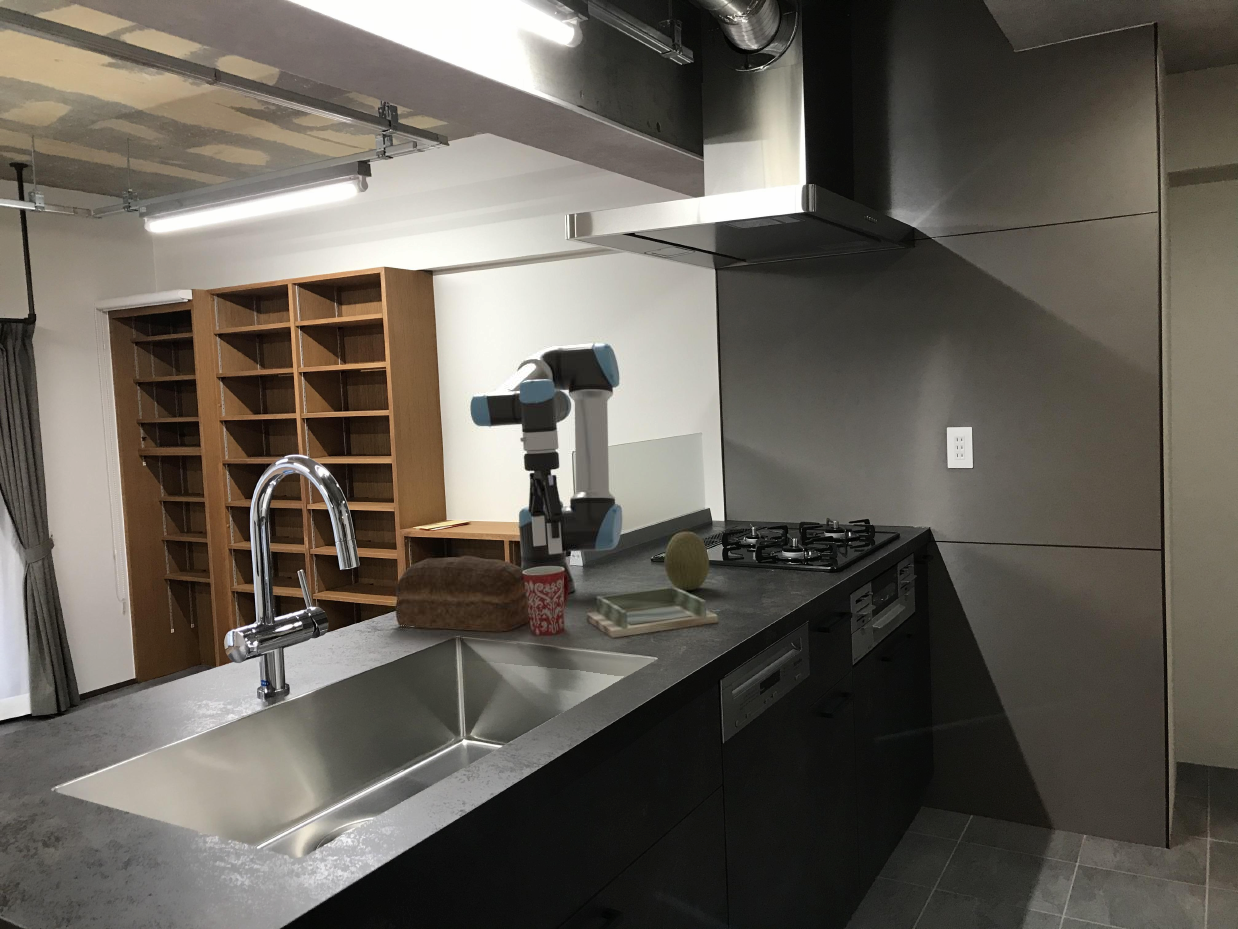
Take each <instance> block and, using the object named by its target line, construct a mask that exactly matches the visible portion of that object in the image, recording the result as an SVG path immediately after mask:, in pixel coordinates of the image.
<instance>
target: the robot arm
mask: <svg viewBox="0 0 1238 929" xmlns="http://www.w3.org/2000/svg"><path fill="white" fill-rule="evenodd" d="M619 386H620V370H619V365H618V360H617V356H616V354H615V351H614V348H613V347H612V346H611V345H610V344H608V343H604V342H603V343H594V342H591V343H585V344H573V345H560V346H558V345H557V346H552V347H549V348H545V349H543V350H540V351H538V352H536V353H534V354H533V355H531V356H529V357H527V358H526V359H525V360H524V361H522V362H521V363H520V364H519V366H518V368H517V370H516V372H515V373H514V374H512V375H511V376H510V377H508V379H507V380H505V381H504V382H503V383H501V385H499V386H498V387H496V388H495V389H494V390H493V391H491V392H483V393H477V394H475V395H473V396H472V397H471V401H470V406H469V409H470V410H469V411H470V417H471V420H472V421H473V424H474V425H476V426H477V427H488V428H489V427H490V428H491V427H497V426H498V427H499V426H516V425H521V432H522V437H520V438H519V440H520V442H521V443H522V444H523V445H522V446H523V451H524V452H526V453H524V455H523V463H524V464H523V465H524V466H523V467H524V470H525V471H527V472H530V473H529V493H528V495H529V498H528V506H526V507H524V508H522V509H521V510H520V511H519V513H518V526H517V527H518V528H519V543H520V545H519V546H520V555H521V566H520V568H522V569H523V570H524V571H525V570H527V569H530V568H535V567H543V566H557V567H563V568H564V569H565V570H564V573H566V574H567V576H568V579H569V590H568V594H569V593H572V592H574V591H575V590H576V588H575V587H576V586H575V579H574V577H573V575H572V572H571V569H570V567H569V564H568V562H567V552H589V551H590V552H591V551H593V552H601V551H609V550H613V549H615V548H616V547H617V546H618V543H619V540H620V538H621V534H622V528H623V510H622V507H621V505H620V504H618V503H616V497H615V496H614V495H613V494H612V493H611V492H610V484H609V483H610V479H609V478H610V474H609V472H610V471H609V466H610V465H609V422H608V421H609V420H608V416H609V415H608V401H609V400H610V399H611V398H612V396H613V394H614V388H617V387H619ZM564 391H568V394H567V393H566V392H564ZM570 398H571V399H572V400H573V401H574V440H575V441H574V442H575V443H574V444H575V446H574V448H575V449H574V450H575V452H574V453H575V456H574V457H575V493H574V494H573V495H572V496H571V497H570V500H569V502H570V504H569V506H564V503H563V501H561V499H560V494H559V489H558V482H557V481H558V480H557V474H552V470H558V469H559V468H560V455H559V454H560V453H558V451H557V450H559V435H558V425H557V424H558V423H560V422H562V421H564V420H566V418H567V417H568V416H569V415H570V413H571V412H572V411H571V410H572V401H571V399H570Z"/></svg>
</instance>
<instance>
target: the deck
mask: <svg viewBox="0 0 1238 929" xmlns="http://www.w3.org/2000/svg"><path fill="white" fill-rule="evenodd" d="M595 598H596V601H595V602H596V612H588V613H586V621H588V622H589V623H590V624H592V625H594V626H595V627H596V628H598V629H599V630H600V631H602V632H603V633H605V634H607V635H608V636H609V637H611V638H619V637H625V636H626V637H627V636H631V635H632V636H633V635H639V634H647V633H653V632H661V631H666V630H673V629H681V628H687V627H693V626H694V627H695V626H701V625H706V624H707V625H709V624H715V623H718V622H719V620H718V614H715V613H713V612H711V611H709V610H707V601H706V599H705V600H704V599H702V598H700V597H698V596H696V595H693V594H691V593H689V592H687V591H685V590H681V589H678V588H676V587H675V586H669V587H662V588H661V587H660V588H655V589H647V590H646V589H645V590H640V591H632V592H630V591H629V592H623V593H615V594H608V595H601V596H596V597H595Z"/></svg>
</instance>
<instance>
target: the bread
mask: <svg viewBox="0 0 1238 929" xmlns="http://www.w3.org/2000/svg"><path fill="white" fill-rule="evenodd" d="M523 571H524V570H523V569H522V568H521V566H519V565H516V564H513V563H511V562H509V561H505V560H501V559H493V558H492V559H488V558H484V557H482V558H481V557H478V556H475V555H474V556H473V555H463V556H459V557H458V556H457V557H456V556H455V557H438V558H435V557H433V558H432V557H428V558H426V559H424V560H421V561H418V562H416V563H414V564H412V565H410V566H409V567H408V568H407V569H406V570H405V571H404V572H403V574H402V575H401V577H400V578H399V580H398V581H397V584H396V588H395V595H396V604H395V615H396V616H395V617H396V622H397V624H398V626H399V625H400V626H401V625H402V626H403V625H404V626H414V627H413V628H417V627H428V628H427V629H447V628H449V630H450V629H452V630H461V631H479V632H480V631H481V632H484V631H485V632H499V633H501V632H507V631H510V630H514V629H515V628H518V627H520V626H522V625H524V624H526V623H528V622H530V619H529V612H528V604H527V596H526V589H525V582H524V575H523ZM400 626H399V627H400Z"/></svg>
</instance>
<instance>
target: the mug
mask: <svg viewBox="0 0 1238 929" xmlns="http://www.w3.org/2000/svg"><path fill="white" fill-rule="evenodd" d="M564 570H565V569H564V568H563V567H557V566H543V567H535V568H530V569H527V570H525V571H523V575H524V582H525V589H526V596H527V604H528V612H529V619H530V620H529V625H530V632H531V634H533V635H536V636H550V635H551V636H552V635H553V636H554V635H558V634H559V633H563V632H564V630H565V607H566V603H567V599H568V595H569V593H568V590H569V579H568V576H567V574H566V573H564Z"/></svg>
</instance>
